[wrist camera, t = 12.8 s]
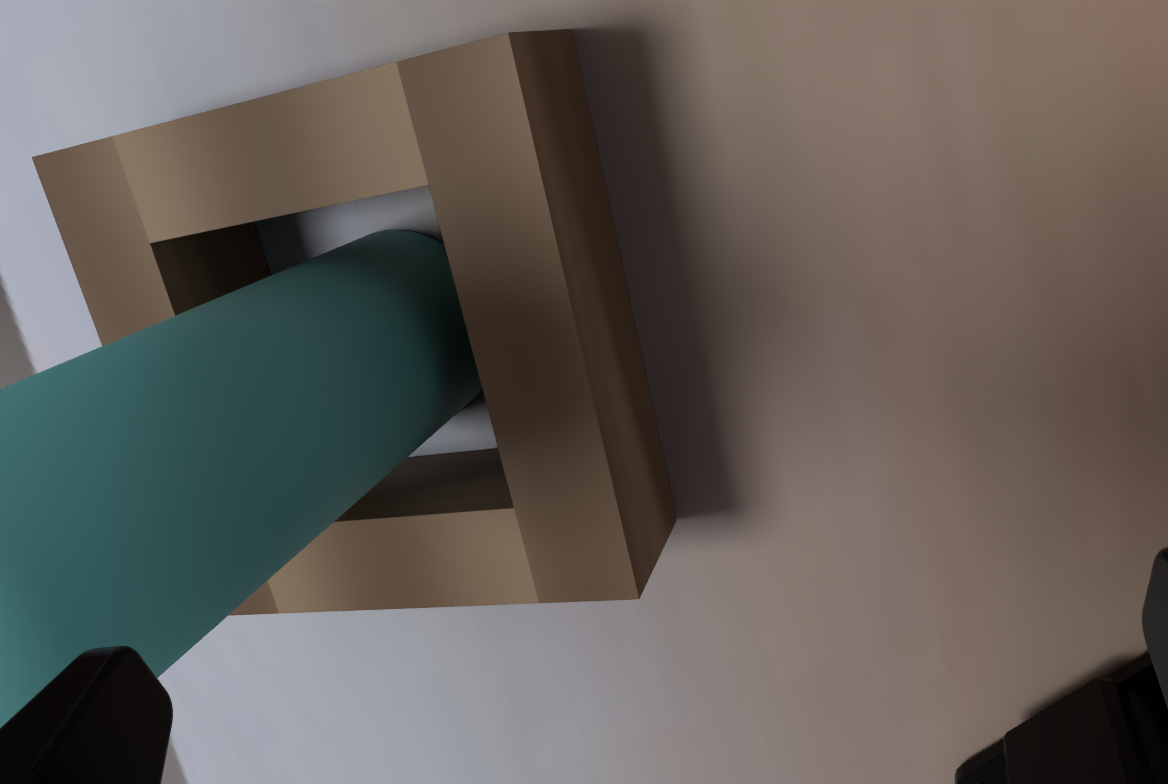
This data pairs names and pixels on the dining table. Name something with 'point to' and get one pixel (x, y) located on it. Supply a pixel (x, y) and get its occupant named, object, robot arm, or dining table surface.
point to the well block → (486, 294)
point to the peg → (214, 451)
